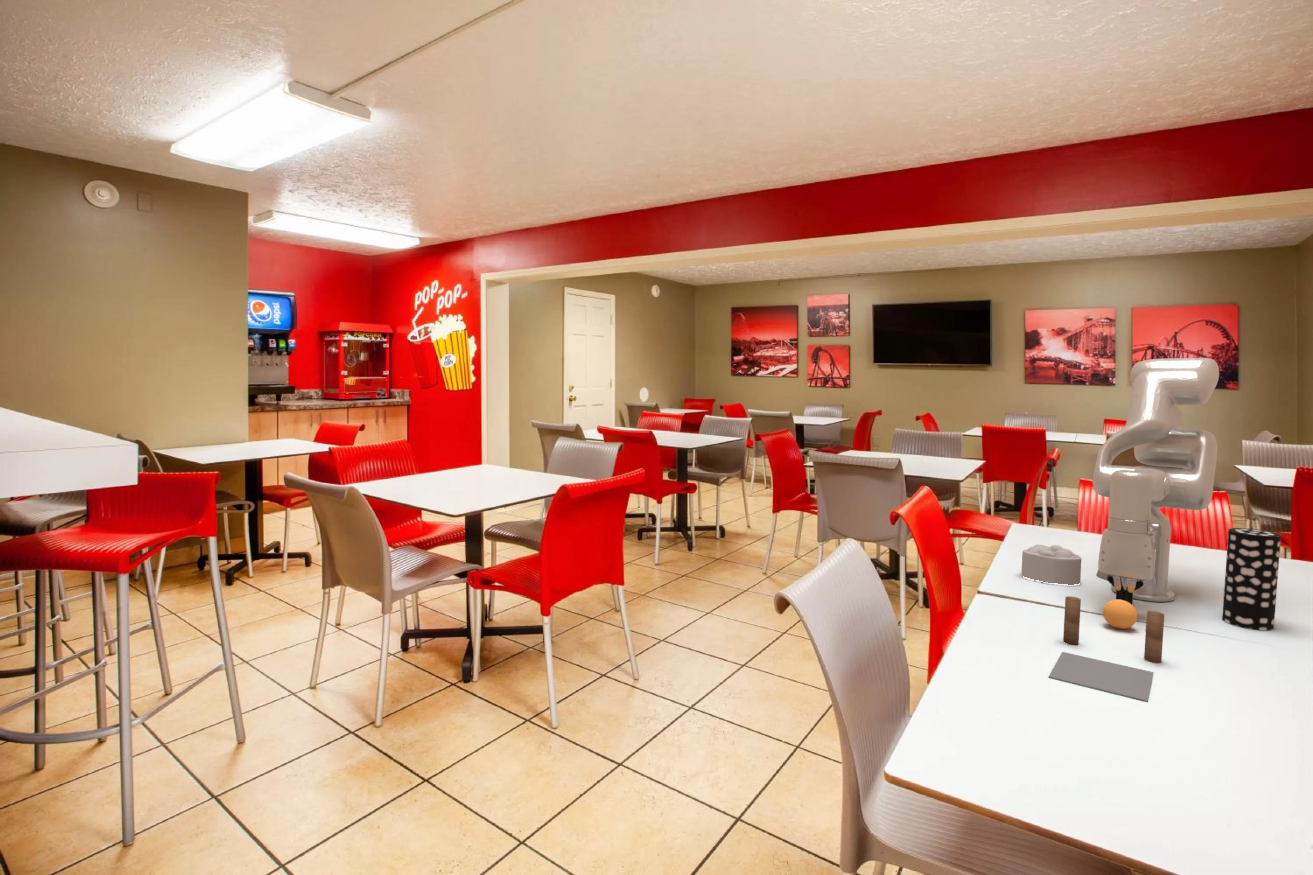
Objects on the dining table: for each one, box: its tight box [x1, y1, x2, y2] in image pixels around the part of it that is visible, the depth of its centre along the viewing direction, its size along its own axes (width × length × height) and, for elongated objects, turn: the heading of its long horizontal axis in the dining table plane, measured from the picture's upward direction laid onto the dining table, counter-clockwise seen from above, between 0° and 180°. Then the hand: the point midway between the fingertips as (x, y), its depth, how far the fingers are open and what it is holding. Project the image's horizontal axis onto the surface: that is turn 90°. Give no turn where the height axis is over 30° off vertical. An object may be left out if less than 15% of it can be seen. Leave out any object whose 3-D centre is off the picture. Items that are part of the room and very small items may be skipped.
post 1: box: [1062, 595, 1082, 646], centre depth 131 cm, size 3×3×9 cm
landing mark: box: [1048, 651, 1154, 703], centre depth 117 cm, size 14×14×1 cm
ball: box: [1102, 598, 1138, 630], centre depth 139 cm, size 6×6×6 cm
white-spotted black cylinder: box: [1221, 527, 1282, 631], centre depth 141 cm, size 8×8×20 cm
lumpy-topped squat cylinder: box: [1021, 544, 1082, 585], centre depth 174 cm, size 10×13×9 cm
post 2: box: [1143, 610, 1165, 664], centre depth 123 cm, size 3×3×9 cm
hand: (1123, 607), depth 146 cm, fingers closed
